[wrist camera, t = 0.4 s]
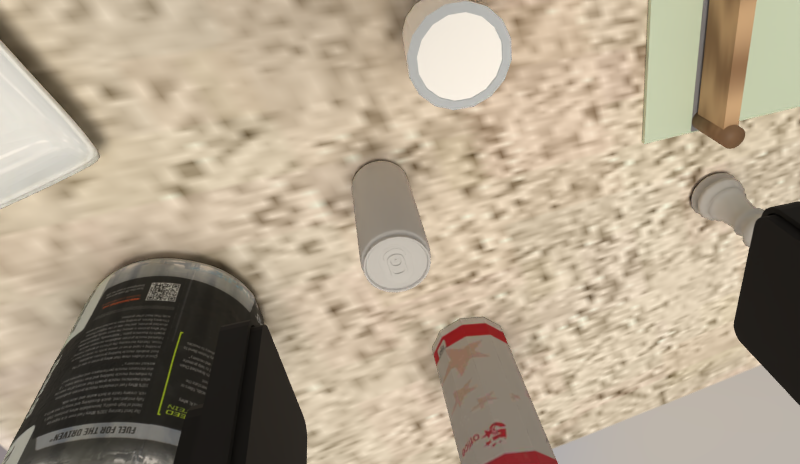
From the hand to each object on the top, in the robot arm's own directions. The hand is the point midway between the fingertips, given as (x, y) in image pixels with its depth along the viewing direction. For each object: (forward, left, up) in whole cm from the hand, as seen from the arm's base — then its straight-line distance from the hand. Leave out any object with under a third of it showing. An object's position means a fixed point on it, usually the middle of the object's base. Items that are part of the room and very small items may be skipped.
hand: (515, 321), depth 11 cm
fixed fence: (+9, +26, -34) cm, 44 cm away
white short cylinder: (+3, +5, -35) cm, 35 cm away
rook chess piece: (+23, +28, -35) cm, 50 cm away
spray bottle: (+35, +3, -35) cm, 49 cm away
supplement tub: (+23, -23, -35) cm, 48 cm away
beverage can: (+14, -2, -35) cm, 37 cm away
